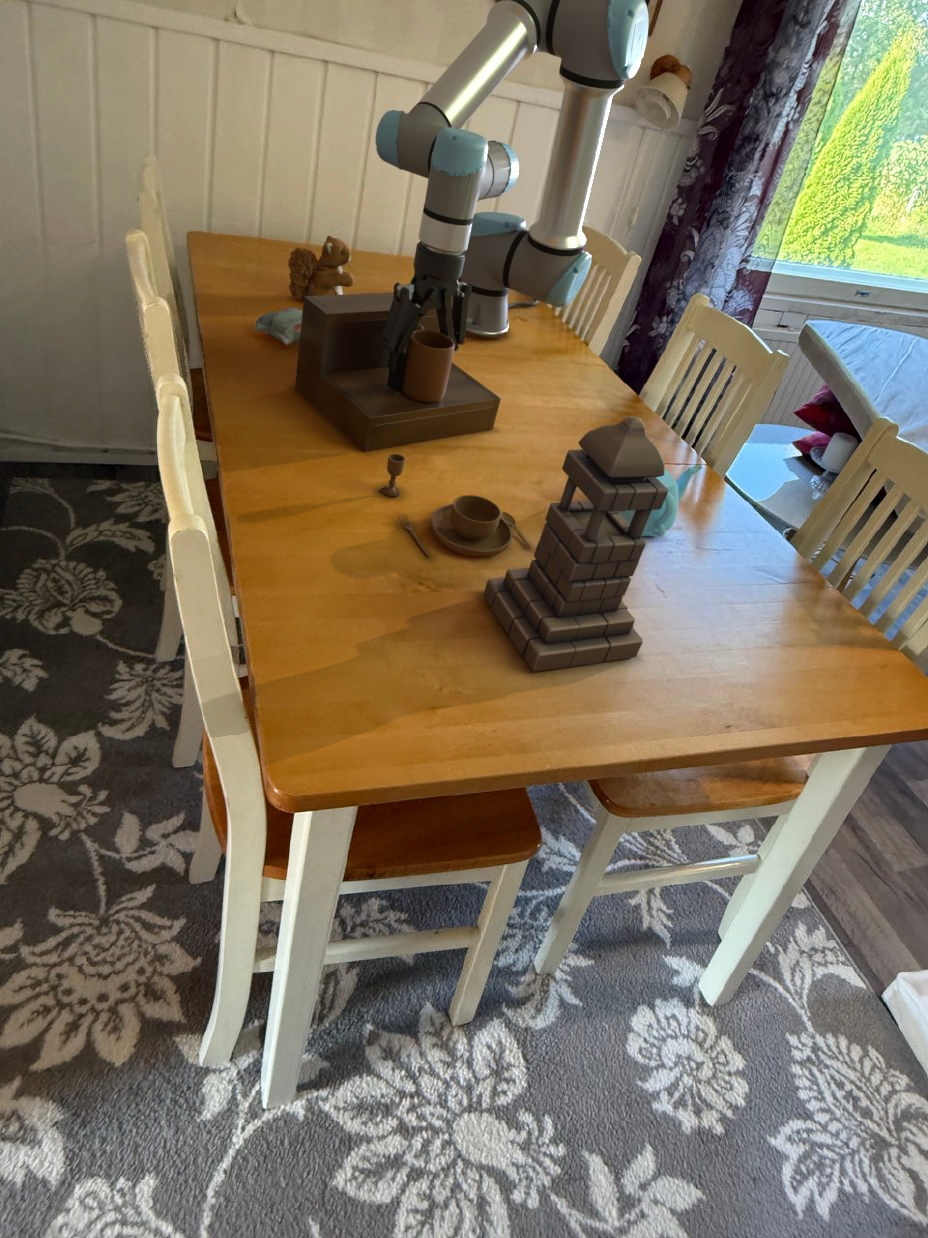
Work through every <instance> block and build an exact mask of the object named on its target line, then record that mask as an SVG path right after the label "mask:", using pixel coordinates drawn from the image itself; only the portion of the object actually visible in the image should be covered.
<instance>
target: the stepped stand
mask: <svg viewBox="0 0 928 1238" xmlns="http://www.w3.org/2000/svg"><path fill="white" fill-rule="evenodd" d="M412 295H413V293H412V294H411V296H412ZM393 298H394V291H392V292H373V293H372V292H369V293H368V292H367V293H366V292H365V293H347V294H346V293H344V295H321V296H304V302H302V311H303V312H302V322H301V332H300V342H298V355H297V364H296V374H295V381H294V382H295V384H294V389H295V390H296V391H297V392H298V393H299V394H301V396H303V397H304V398H305V399H306V400H307V401H308V402H309V403H310V404H311V405H312V406H314V407H315V408H316V410H317V411H319V412H320V413H321V414H322V415H323V416H325V417H326V418H327V419H328V420H329V421H330V422H331V424H333V425H334V426H335V427H336V428H337V429H339V431H341V432H342V433H343V434H344V435H345V436H346V437H347V438H349V440H351V442H353V443H354V444H355V445H356V446H357V447H358V448H359V449H360V450H361V451H362V452H364V453H367V452H371V451H377V450H382V449H389V448H394V447H399V446H407V445H411V444H417V443H422V442H429V441H434V440H439V439H445V438H453V437H456V436H462V435H470V434H475V433H481V432H487V431H492V430H494V427H495V423H496V418H497V415H498V412H499V407H500V403H501V400H502V398H501V397H499V396H498V395H497V394H495V393H494V392H493V391H491V390H490V389H488V388H487V387H486V386H485V385H483V384H482V383H481V382H479V381H478V380H476V378H474V377H472V375H470V374H469V373H467V372H465V370H464V369H462V368H460V367H459V366H458V365H457V364H455V363H454V362H452V364H451V369H450V374H449V378H448V382H447V387H446V391H445V395H444V397H443V398H442V399H441V400H440V401H438V402H434V403H425V402H419V401H416V400H413V399H411V398H409V397H407V396H406V395H405V394H404V393H403V392H402V391H401V388H400V392H398V393H396V392H395V391H393V390H392V389H391V388H390V387H388V386H387V381H388V375H389V369H388V368H387V363H388V357H389V350H388V349H386V348H385V347H384V346H382V345H381V344H380V339H381V336H382V333H383V330H384V327H385V324H386V320H387V317H388V314H389V311H390V308H391V305H392V301H393ZM451 303H452V308H453V300H451ZM416 305H417V306H418V307H419V308H420V307H421V306H419V305H418V304H416ZM407 309H408V308H407ZM451 315H452V312H451ZM418 324H420V325H422V326H423V327H424V329H425V330H430V331H435V332H439V333H440V329H439V323H438V317H437V311H436V309H435V308H434V309H431V310H428V311H427V313H426V315H425V316H422V317H421V319H420V321H419V323H418ZM397 344H398V343H397ZM407 344H408V343H407ZM406 348H407V345H406V347H405V349H404V351H403V352H404V353H405V354H406Z"/></svg>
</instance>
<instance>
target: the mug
mask: <svg viewBox="0 0 928 1238" xmlns="http://www.w3.org/2000/svg"><path fill="white" fill-rule="evenodd" d="M454 347H455V343H454V341H453V340H452V339H451V338H449V337H448V336H446V335H444V334H442V333H439V332H435V331H430V330H425V329H424V327H423V326H422V325H420V324H418V325H417V327H416V328H415V330H414V332H413V334H412V336H411V338H410V339H409V341H408V344H407V348H406V354H407V355H406V361H405V366H404V372H403V377H402V383H401V391H402V392H403V393H404V394H405V395H406V396H407V397H409V398H411V399H413V400H416V401H419V402H425V403H434V402H438V401H440V400H441V399H442V398H443V397H444V395H445V391H446V387H447V382H448V378H449V374H450V369H451V364H452V363H453V359H454V355H455V354H454V353H455V351H454Z"/></svg>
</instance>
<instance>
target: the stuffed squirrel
mask: <svg viewBox="0 0 928 1238" xmlns="http://www.w3.org/2000/svg"><path fill="white" fill-rule="evenodd" d="M289 254H290V257H289V258H288V260H287V261H288V263H287V264H288V267H289V272H290V273H288V275H289V279H290V281H289V285H288V290H289V292H290V294H291V295H292V297H294V299H296V301H297V302H301V303H303V302H304V296H321V295H344V294H345V292H343V287H346V288H350V287H352V286H353V285H354V284H355V277H354V275H353V274H352V273H351V272H350V271H347V270H345V269H343V267H344V266H347V265H348V267H349V268H351V260H352V254H353V252H352V249H351V248H350V247H349V245H348V244H346V243H345V241H343V240H341V239H339V238H336V237H333V236H332V235H327V236H326V239H325V241H324V243H323V245H322V248H321V255H320V257H319V259H318V258H317V255H316V251H315V250H312V249H310V248H309V247H308V248H306V247H304V248H303V247H301V246H300V247H298V246H296V247H295V248H294V250H292V251H290V253H289Z"/></svg>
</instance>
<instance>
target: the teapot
mask: <svg viewBox="0 0 928 1238" xmlns="http://www.w3.org/2000/svg"><path fill="white" fill-rule="evenodd" d="M702 469H703V466H701V465H692V466H690V467H688V468H687V469H685V470H684V471H683V473H682V474H680V476H679V477H678V478H677V479H676V478H675V477H674V476H673V475H672V473H671V472H670V471H668V470H667V469H666V468H665V474H664V476H660V477H656V478H657V479H658V480H659V481H660V482H661V483H662V484H663V485H664V486H665V487H666V488H667V489H668V493H667V496H666V498H665V501H664V503H663V505H662V508H661V509H658V510H652V511H651V513H650V516H649V518H648V520H647V523H646V525H645V528H644V530H643V532H642V535H641V537H642V536H644V537H645V536H648V537H652V538H657V537H658V538H660V537H663V536H664V535H665V534H666V532H667V531H668V530H670V529H671V528H672V527H673V526H674V525H675V522H676V519H677V516H678V513H679V502H680V501H681V500H682V498H683V496H684V495H685V493H686V490H687V488H688V486H689V483H690V481H691V479H692V478H693V477H694V475H695V474H697V473H698V472H700V471H701V470H702ZM635 511H636V510H627V511H619V514H621V515H622V516H623V517H624V518H625V519H626V520H627V521H628V522H629V524H630V523H631V521H632V518H633V516H634V513H635Z"/></svg>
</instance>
